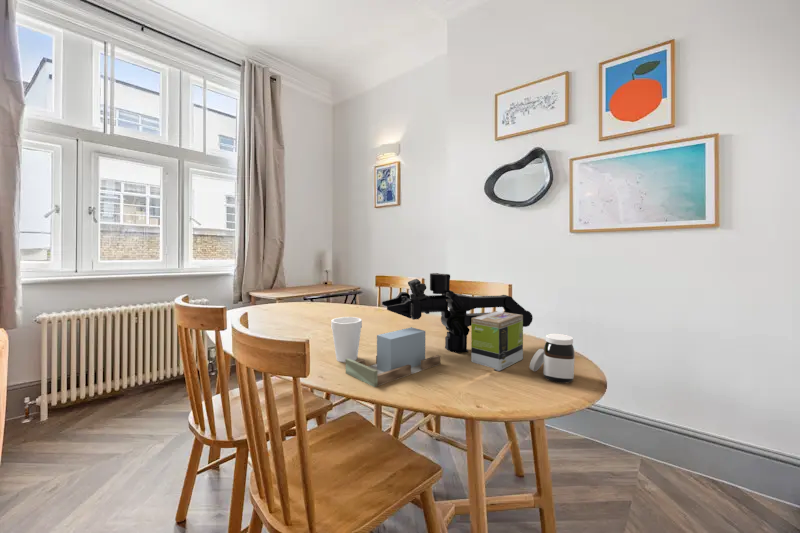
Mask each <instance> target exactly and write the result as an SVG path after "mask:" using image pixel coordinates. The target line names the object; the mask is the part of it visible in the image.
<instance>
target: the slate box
mask: <svg viewBox="0 0 800 533" xmlns="http://www.w3.org/2000/svg"><path fill="white" fill-rule="evenodd" d="M376 356H377V369H378V370H381V371H383V372H387V371H390V370H393V369H396V368H399V367H402V366H405V365H408V364H409V365H411V368H412V367H415V366H418V365H421V360H424V359H426V330H423V329H420V328H416V327H412V326H410V327H407V328H402V329H399V330H395V331H390V332H389V331H388V332H386V333H385V332H384V333H379V334H376Z"/></svg>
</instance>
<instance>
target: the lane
mask: <svg viewBox="0 0 800 533" xmlns="http://www.w3.org/2000/svg"><path fill="white" fill-rule="evenodd" d="M441 358H442V357H441V355H440V354H437V355H434V356H431V357H428V358H425V359H424V360H421V365H418V366H415V367H412V368H411V365H409V364H408V365H405V366H402V367H399V368H396V369H393V370H390V371H387V372H383V371H381V370H378V369H377V355H376V356H375V364H371V365H368V366H367V365H366V360H365V359H360V360H355V361H354V360H351V359H349V358H348V359H346V362H345V374H346V375H348V376H351V377H353V378H355V379H356V380H359V381H361V382H364V383H365V384H368V385H369V386H371V387H373V388H375V387H379V386H381V385H384V384H387V383H391V382H393V381H395V380H398V379H401V378H404V377H407V376H411V375H414V374H415V373H418V372H422V371H425V370H427V369H430V368H433V367H435V366H439V365H441Z"/></svg>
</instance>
